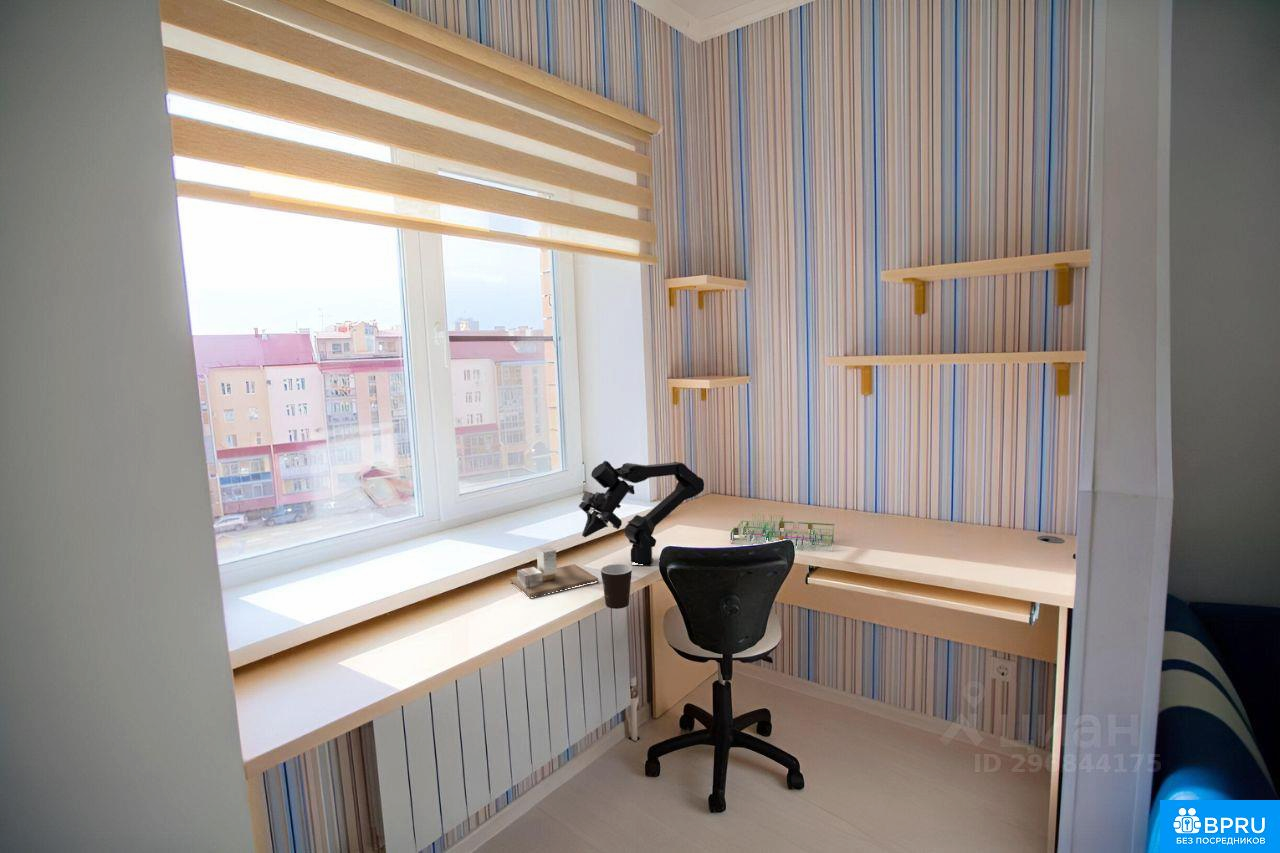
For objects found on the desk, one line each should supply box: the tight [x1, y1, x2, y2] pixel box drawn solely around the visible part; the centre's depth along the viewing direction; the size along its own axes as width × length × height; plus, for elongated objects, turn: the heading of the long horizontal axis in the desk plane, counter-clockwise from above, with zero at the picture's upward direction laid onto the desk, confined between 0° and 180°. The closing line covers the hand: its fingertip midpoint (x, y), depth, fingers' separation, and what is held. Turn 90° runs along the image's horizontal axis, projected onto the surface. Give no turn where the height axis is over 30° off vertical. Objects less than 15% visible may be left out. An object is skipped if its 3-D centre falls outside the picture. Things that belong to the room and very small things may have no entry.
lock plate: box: [509, 563, 599, 599], centre depth 193 cm, size 22×16×5 cm
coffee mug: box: [600, 563, 633, 610], centre depth 176 cm, size 12×9×10 cm
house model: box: [730, 513, 835, 547], centre depth 236 cm, size 35×30×5 cm
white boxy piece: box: [536, 545, 558, 581], centre depth 190 cm, size 9×5×9 cm, turn 122°
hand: (583, 536), depth 198 cm, fingers closed
